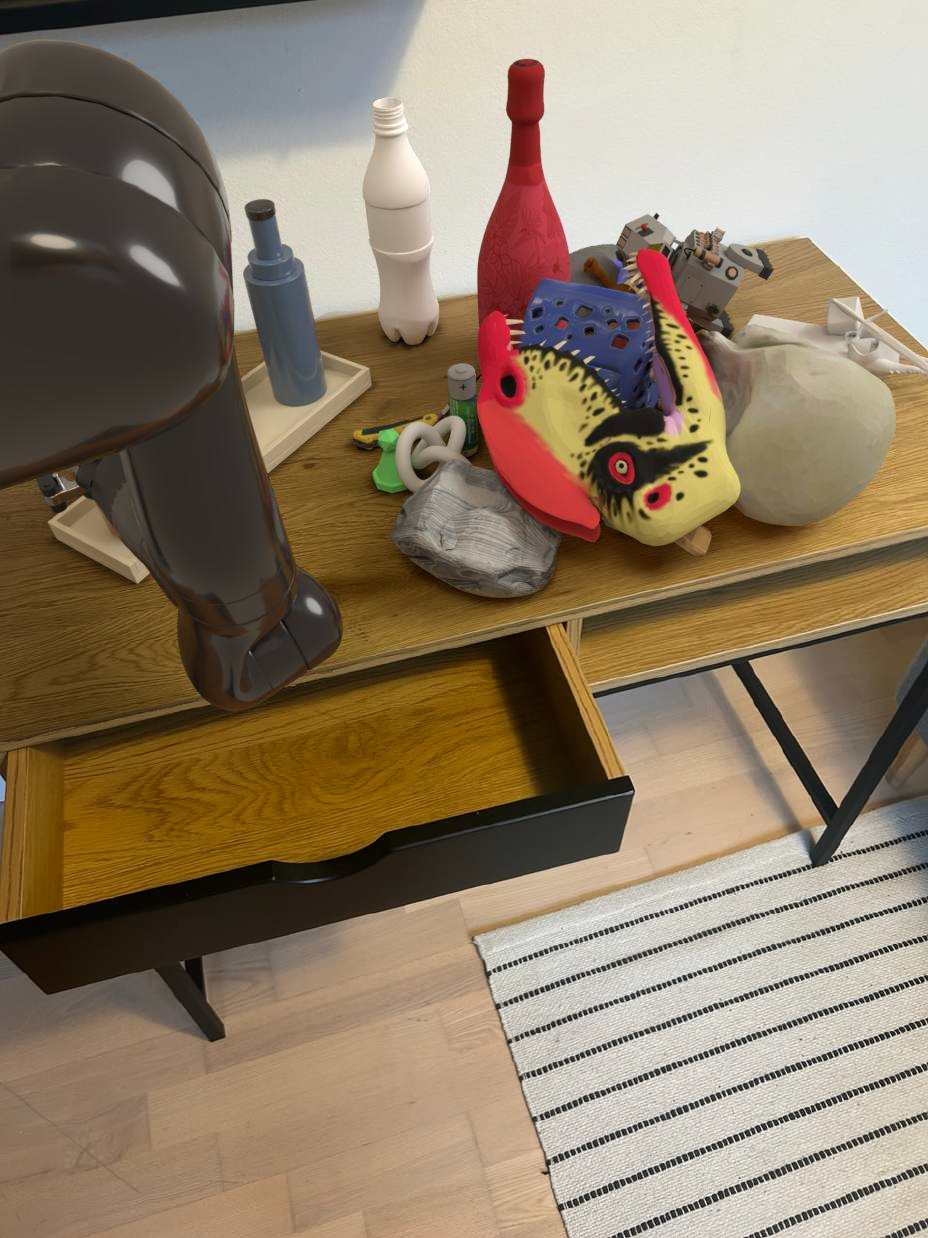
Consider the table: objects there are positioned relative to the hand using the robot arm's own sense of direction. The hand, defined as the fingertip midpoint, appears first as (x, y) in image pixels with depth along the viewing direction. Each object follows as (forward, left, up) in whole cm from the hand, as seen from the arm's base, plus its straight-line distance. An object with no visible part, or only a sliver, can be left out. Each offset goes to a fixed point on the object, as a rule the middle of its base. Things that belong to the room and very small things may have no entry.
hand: (85, 409), depth 75 cm
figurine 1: (+63, +34, -8) cm, 72 cm away
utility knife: (+28, +13, -12) cm, 33 cm away
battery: (+32, +10, -12) cm, 36 cm away
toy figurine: (+46, +27, -9) cm, 54 cm away
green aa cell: (+30, +14, -11) cm, 35 cm away
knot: (+30, +5, -12) cm, 32 cm away
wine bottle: (+38, +26, -12) cm, 47 cm away
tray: (+7, +9, -12) cm, 17 cm away
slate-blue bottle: (+13, +19, -11) cm, 26 cm away
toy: (+54, +3, +2) cm, 54 cm away
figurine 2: (+62, +28, -9) cm, 69 cm away
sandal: (+50, -1, -7) cm, 50 cm away
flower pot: (+41, +7, -7) cm, 43 cm away
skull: (+51, +4, 0) cm, 51 cm away
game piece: (+25, +5, -12) cm, 29 cm away
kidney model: (+46, +28, -11) cm, 55 cm away
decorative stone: (+36, -7, -5) cm, 37 cm away
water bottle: (+24, +32, -12) cm, 42 cm away
